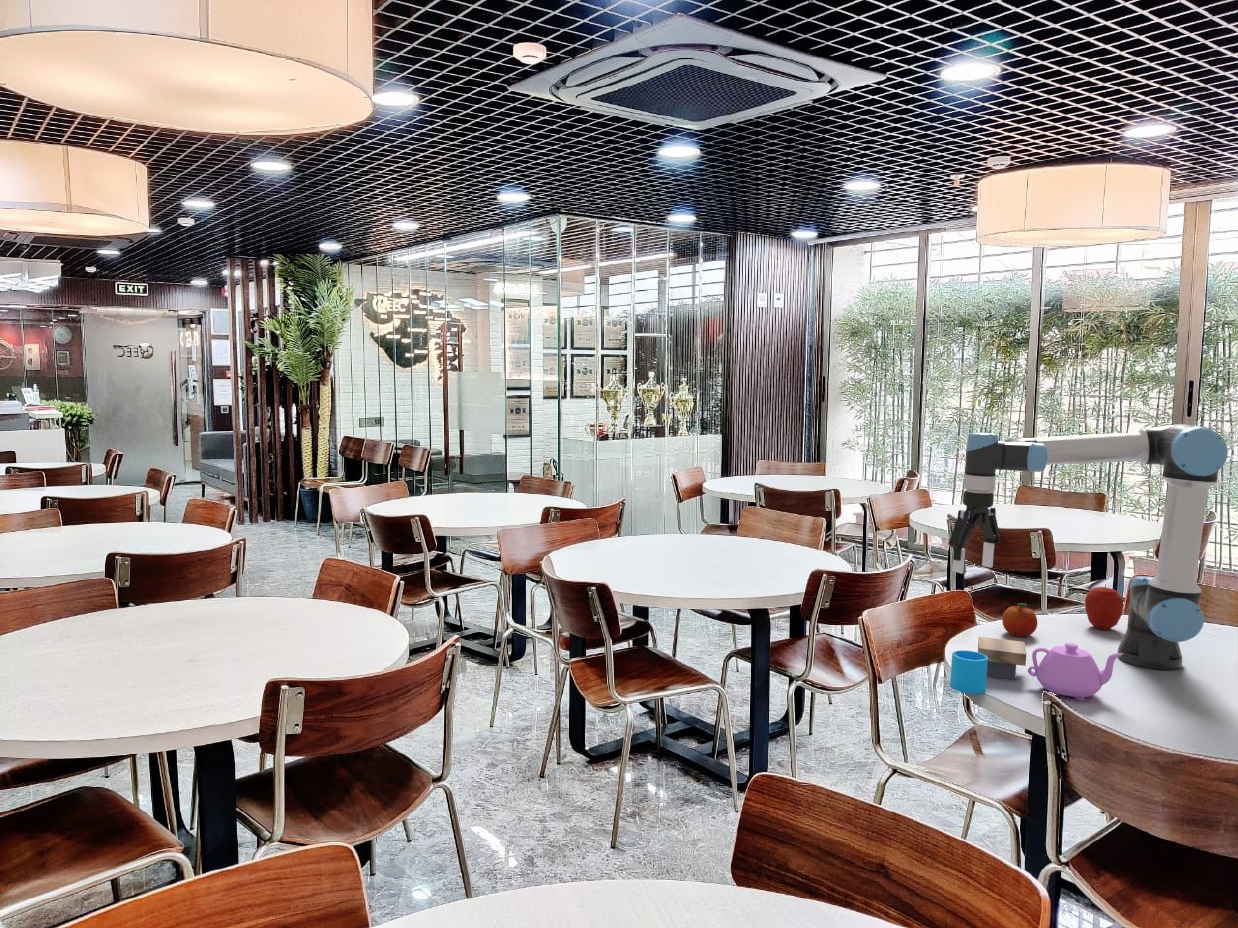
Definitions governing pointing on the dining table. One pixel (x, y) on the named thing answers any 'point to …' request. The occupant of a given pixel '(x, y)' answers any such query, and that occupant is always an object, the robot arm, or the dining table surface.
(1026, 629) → the fruit
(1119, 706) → the dining table surface
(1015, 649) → the block
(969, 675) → the mug
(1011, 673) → the block
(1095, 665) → the teapot
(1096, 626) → the apple
